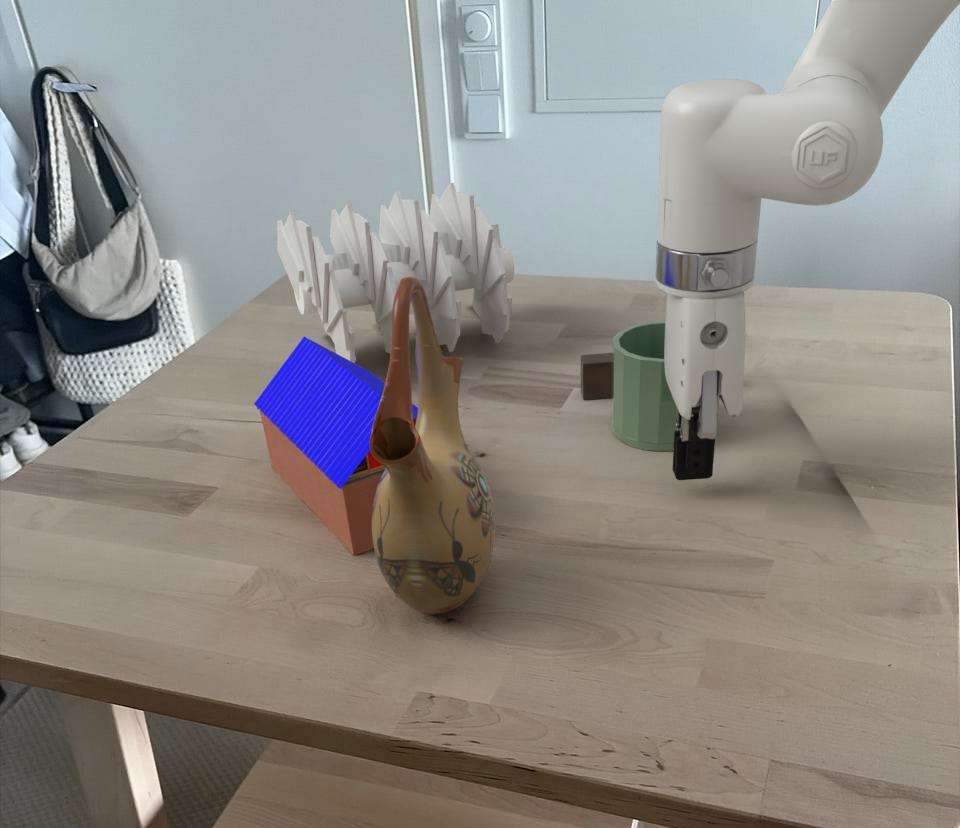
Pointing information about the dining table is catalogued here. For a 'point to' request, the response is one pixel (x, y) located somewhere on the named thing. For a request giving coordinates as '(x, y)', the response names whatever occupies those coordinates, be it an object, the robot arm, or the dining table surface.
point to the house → (326, 438)
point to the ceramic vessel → (427, 473)
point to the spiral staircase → (401, 266)
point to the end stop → (596, 376)
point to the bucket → (642, 389)
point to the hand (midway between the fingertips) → (692, 474)
